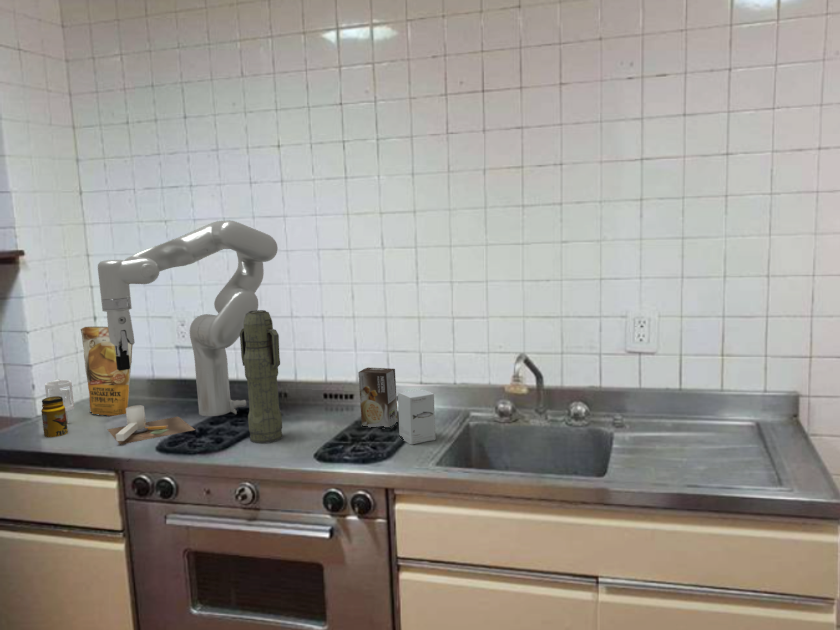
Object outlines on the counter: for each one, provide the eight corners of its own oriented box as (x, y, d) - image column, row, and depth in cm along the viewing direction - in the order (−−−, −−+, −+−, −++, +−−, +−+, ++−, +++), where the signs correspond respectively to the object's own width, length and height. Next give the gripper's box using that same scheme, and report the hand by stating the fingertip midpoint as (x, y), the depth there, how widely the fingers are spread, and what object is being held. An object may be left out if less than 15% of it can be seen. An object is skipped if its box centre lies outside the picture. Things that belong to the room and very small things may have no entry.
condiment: (71, 439, 201) (66, 398, 199) (37, 446, 196) (32, 403, 194) (67, 433, 207) (63, 393, 205) (35, 439, 202) (30, 398, 200)
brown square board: (178, 421, 215) (178, 416, 215) (195, 434, 200) (195, 429, 200) (107, 434, 204) (107, 429, 204) (120, 449, 189) (119, 444, 189)
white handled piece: (129, 427, 204) (127, 405, 203) (169, 425, 204) (167, 403, 203) (108, 445, 188) (105, 421, 187) (151, 442, 188) (148, 418, 187)
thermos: (277, 444, 188) (267, 313, 183) (238, 441, 192) (228, 313, 187) (293, 434, 196) (285, 309, 192) (256, 432, 200) (247, 309, 196)
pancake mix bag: (97, 409, 234) (88, 325, 230) (143, 412, 227) (134, 326, 223) (81, 414, 228) (71, 328, 224) (127, 418, 221) (118, 329, 217)
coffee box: (399, 423, 203) (396, 368, 201) (389, 429, 198) (387, 373, 195) (370, 420, 207) (367, 366, 205) (360, 427, 201) (357, 371, 199)
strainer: (48, 432, 209) (42, 382, 207) (52, 425, 216) (46, 377, 214) (74, 429, 211) (69, 379, 209) (77, 422, 218) (72, 375, 216)
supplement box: (411, 445, 183) (409, 397, 181) (398, 438, 189) (396, 392, 188) (436, 440, 186) (434, 393, 184) (423, 433, 193) (421, 387, 191)
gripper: (137, 305, 193) (144, 371, 195) (125, 301, 205) (131, 363, 208) (107, 308, 188) (115, 376, 191) (97, 304, 201) (104, 367, 203)
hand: (123, 369), depth 199 cm, fingers closed
